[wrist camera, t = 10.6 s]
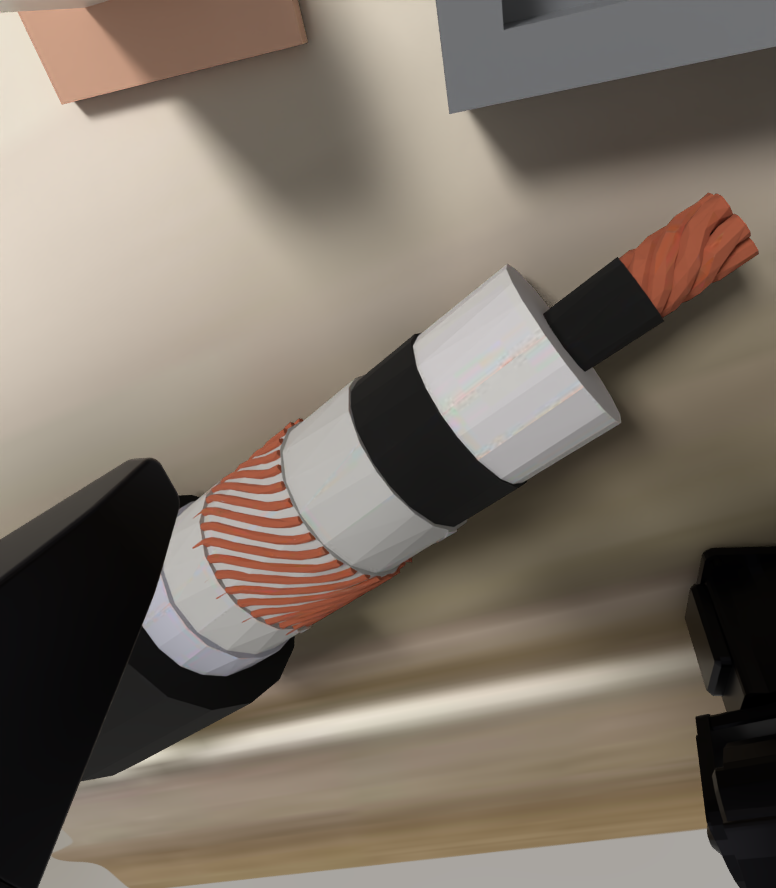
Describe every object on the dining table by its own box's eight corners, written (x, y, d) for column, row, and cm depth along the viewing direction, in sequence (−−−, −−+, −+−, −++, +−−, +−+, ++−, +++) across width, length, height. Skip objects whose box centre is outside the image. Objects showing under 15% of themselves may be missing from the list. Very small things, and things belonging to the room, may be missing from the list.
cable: (682, 222, 22) (872, 426, 16) (177, 593, 37) (186, 768, 31) (577, -3, 15) (856, 224, 9) (0, 572, 29) (-30, 795, 24)
